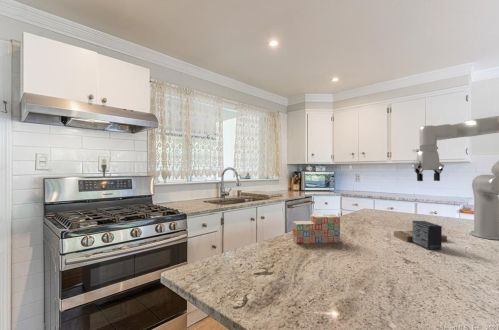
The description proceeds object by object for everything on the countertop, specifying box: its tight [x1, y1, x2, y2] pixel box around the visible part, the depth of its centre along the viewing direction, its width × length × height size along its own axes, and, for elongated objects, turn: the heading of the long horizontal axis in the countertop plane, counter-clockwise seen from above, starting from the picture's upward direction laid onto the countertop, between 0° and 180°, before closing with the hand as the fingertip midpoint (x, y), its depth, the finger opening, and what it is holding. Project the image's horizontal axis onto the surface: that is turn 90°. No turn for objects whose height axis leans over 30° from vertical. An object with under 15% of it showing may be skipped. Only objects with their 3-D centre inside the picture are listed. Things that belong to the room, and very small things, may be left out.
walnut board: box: [393, 230, 448, 243], centre depth 124 cm, size 20×10×3 cm, turn 94°
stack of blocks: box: [292, 213, 341, 244], centre depth 120 cm, size 21×6×12 cm, turn 97°
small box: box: [411, 220, 443, 251], centre depth 113 cm, size 11×6×10 cm, turn 1°
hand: (428, 180), depth 134 cm, fingers open, 9 cm apart
